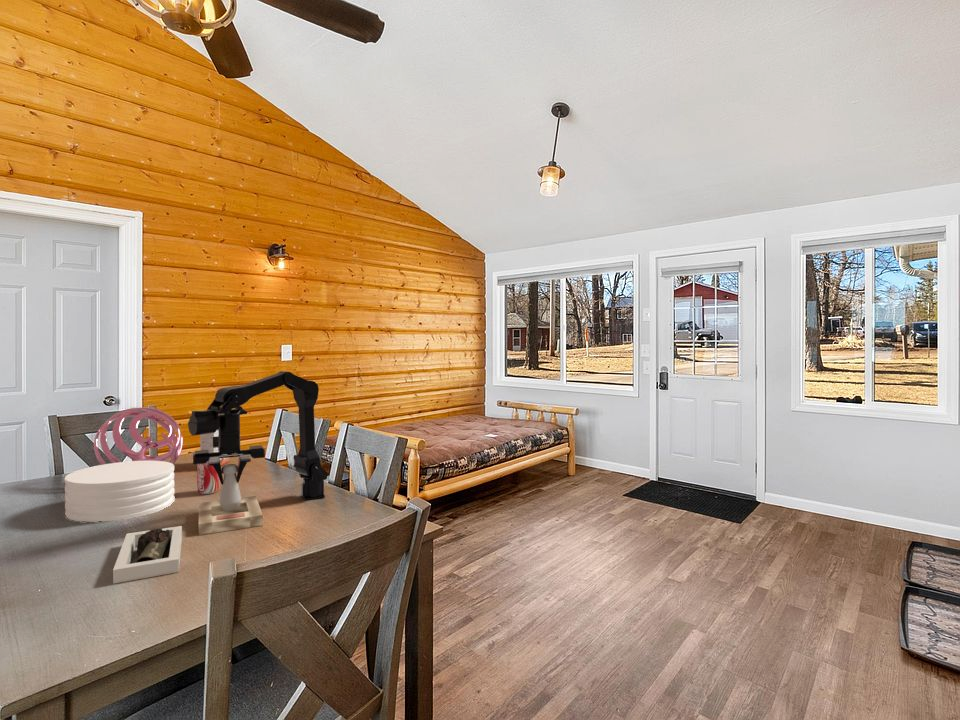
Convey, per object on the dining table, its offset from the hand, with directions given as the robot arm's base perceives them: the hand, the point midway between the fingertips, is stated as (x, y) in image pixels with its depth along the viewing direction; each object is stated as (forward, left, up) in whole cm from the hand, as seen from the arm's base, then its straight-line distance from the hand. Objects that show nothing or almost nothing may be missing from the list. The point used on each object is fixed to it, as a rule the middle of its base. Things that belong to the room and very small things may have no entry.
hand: (230, 483), depth 150 cm
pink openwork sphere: (+27, -62, -11) cm, 68 cm away
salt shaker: (0, 0, -8) cm, 8 cm away
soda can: (+5, -32, -11) cm, 34 cm away
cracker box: (+2, -72, -11) cm, 73 cm away
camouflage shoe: (+18, +22, -11) cm, 30 cm away
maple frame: (0, 0, -11) cm, 11 cm away
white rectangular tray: (+18, +21, -11) cm, 30 cm away
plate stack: (+29, -27, -11) cm, 41 cm away
